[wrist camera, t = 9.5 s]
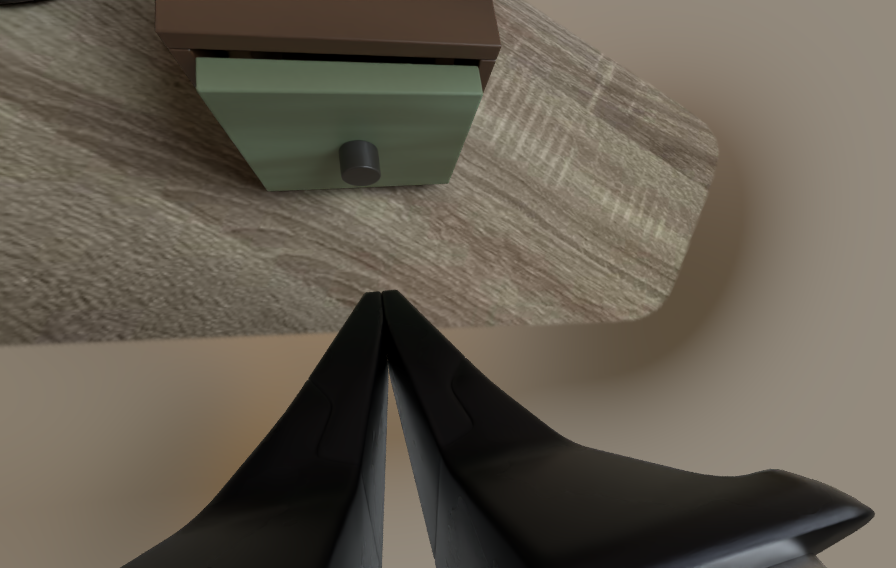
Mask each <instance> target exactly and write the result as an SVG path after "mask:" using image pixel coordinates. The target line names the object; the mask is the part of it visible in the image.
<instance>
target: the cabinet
mask: <svg viewBox="0 0 896 568" xmlns="http://www.w3.org/2000/svg"><path fill="white" fill-rule="evenodd" d="M155 31H156V33H157V34H158V35H159V37H160V38H161V40H162V41H163V43H164V44H165V45H166V47H168V49H169V51H170V53H171V54H172V55H173V57H174V58H175V60H176V61H177V62H178V64H179V65H180V67H181V68H182V70H183V71H184V72H185V74H186V75H187V77H188V78H189V79H190V81H191V82H192V84H193V85H194V86H195V88H196V61H195V59H196V58H197V57H211V58H229V56H228V54H227V52H226V50H234V51H262V52H290V53H317V54H345V55H372V56H400V57H428V58H455V60H454V64H453V65H462V66H477V67H478V69H479V74H480V80H481V85H482V91H483V92H484V90H485V87H486V85H487V82H488V80H489V77H490V74H491V72H492V69H493V67H494V64H495V61H496V59H497V56H498V54H499V51H500V49H501V42H500V36H499V31H498V26H497V21H496V16H495V11H494V6H493V1H492V0H155Z"/></svg>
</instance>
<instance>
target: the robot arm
mask: <svg viewBox="0 0 896 568" xmlns="http://www.w3.org/2000/svg"><path fill="white" fill-rule="evenodd" d="M381 295H382V296H381ZM387 359H388V360H387ZM388 368H389V374H390V379H391V383H392V387H393V392H394V396H395V399H396V404H397V408H398V412H399V416H400V420H401V424H402V429H403V433H404V436H405V441H406V445H407V449H408V453H409V457H410V462H411V466H412V470H413V474H414V478H415V482H416V486H417V490H418V494H419V498H420V503H421V507H422V511H423V515H424V519H425V523H426V527H427V532H428V535H429V540H430V544H431V548H432V552H433V556H434V559H435V565H436V568H826V567H825V565H824V564H823V563H822V562H821V561H820V560H819V559H818V558H817V557H816V555H817V554H818V553H820V552H822V551H823V550H825V549H827V548H828V547H830V546H832V545H833V544H835V543H837V542H838V541H840V540H842V539H844V538H845V537H847V536H848V535H850V534H852V533H854V532H855V531H857V530H858V529H860V528H861V527H863V526H864V525H865V524H867V523H868V522H869V521H870V520H871V519H872V518H873V517H874V515H875V513H874V511H873V510H872V509H871V508H869V507H868V506H866V505H864V504H862V503H861V502H860V501H858V500H857V499H855V498H854V497H852V496H850V495H848V494H846V493H844V492H842V491H840V490H838V489H836V488H834V487H832V486H829V485H827V484H824V483H822V482H819V481H817V480H813V479H809V478H806V477H803V476H800V475H797V474H794V473H791V472H787V471H784V470H779V469H769V470H763V471H759V472H755V473H752V474H748V475H742V476H735V477H734V476H713V475H704V474H699V473H693V472H689V471H684V470H680V469H676V468H672V467H668V466H663V465H659V464H655V463H651V462H647V461H643V460H638V459H634V458H630V457H626V456H622V455H618V454H614V453H609V452H605V451H601V450H597V449H593V448H589V447H585V446H582V445H579V444H577V443H574V442H572V441H571V440H569V439H567V438H565V437H563V436H562V435H560V434H558V433H557V432H556V431H554V430H553V429H551V428H550V427H549V426H547V425H546V424H545V423H544V422H542V421H541V420H540V419H538V418H537V417H536V416H535V415H533V414H532V413H531V412H529V411H528V410H527V409H526V408H524V407H523V406H522V405H520V404H519V403H518V402H516V401H515V400H514V399H512V398H511V397H510V396H509V395H507V394H506V393H505V392H504V391H503V390H501V389H500V388H499V387H498V386H496V385H495V384H494V383H493V382H491V381H490V380H489V379H488V378H487V377H486V376H485V375H484V374H483V373H481V372H480V371H479V370H478V369H477V368H476V367H475V366H474V365H473V364H472V363H471V362H470V361H469V360H468V359H467V358H465V356H464V355H463V354H462V353H461V352H460V351H459V350H458V349H456V347H455V346H454V345H453V344H452V343H451V342H450V341H448V340H447V339H446V338H445V337H444V336H443V335H442V334H441V333H440V332H439V331H438V330H437V329H436V328H435V327H434V326H433V325H432V324H431V323H430V322H429V321H428V320H427V319H426V318H425V317H424V316H423V315H422V314H421V313H420V312H419V311H418V310H417V309H416V308H415V307H414V306H413V305H412V304H411V303H410V302H409V301H408V300H407V299H406V298H405V297H404V296H403V295H402V294H401V293H400V292H399V291H398V290H387V291H383V292H382V293H381V292H379V291H377V292H366V293H365V294H364V295H363V296H362V298H361V299H360V301H359V302H358V304H357V305H356V307H355V308H354V310H353V312H352V313H351V315H350V316H349V318H348V319H347V321H346V322H345V324H344V325H343V327H342V328H341V330H340V331H339V333H338V334H337V336H336V337H335V339H334V340H333V342H332V343H331V345H330V346H329V348H328V349H327V351H326V352H325V354H324V355H323V357H322V359H321V360H320V362H319V363H318V365H317V366H316V368H315V369H314V371H313V372H312V374H311V375H310V377H309V380H307V381H306V382H305V384H304V386H303V387H302V389H301V390H300V392H299V393H298V395H297V396H296V397H295V399H294V400H293V402H292V403H291V405H290V406H289V407H288V409H287V410H286V412H285V413H284V414H283V416H282V417H281V418H280V419H279V420H278V422H277V423H276V424H275V426H274V427H273V428H272V429H271V431H270V432H269V433H268V434H267V436H266V437H265V438H264V439H263V441H261V443H260V444H259V445H258V446H257V448H256V449H255V450H254V451H253V452H252V454H251V455H250V456H249V457H248V458H247V459H246V461H245V462H244V463H243V464H242V465H241V467H240V468H239V469H238V470H237V471H236V473H235V474H234V475H233V476H232V477H231V479H230V480H229V481H228V482H227V483H226V485H225V486H224V487H223V488H222V489H221V491H220V492H219V493H218V494H217V495H216V496H215V498H214V499H213V500H212V501H211V502H210V503H209V504H208V505H207V506H206V507H205V508H204V509H203V510H202V511H201V512H200V513H199V514H198V515H197V516H196V517H195V518H194V519H193V520H192V521H190V522H189V523H188V524H187V525H186V526H184V527H183V528H182V529H180V530H179V531H178V532H176V533H175V534H174V535H172V536H170V537H169V538H167V539H166V540H164V541H163V542H161V543H159V544H158V545H156V546H155V547H153V548H151V549H150V550H148V551H146V552H145V553H143V554H142V555H140V556H138V557H137V558H135V559H134V560H132V561H130V562H129V563H127V564H126V565H124V566H122V567H121V568H382V545H383V544H382V543H383V516H384V490H385V461H386V459H385V458H386V434H387V405H388Z"/></svg>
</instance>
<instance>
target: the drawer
mask: <svg viewBox="0 0 896 568" xmlns="http://www.w3.org/2000/svg"><path fill="white" fill-rule="evenodd" d="M226 52H227V54H228V56H229V58H211V57H197V58H196V59H195V61H196V91H197V92H198V94H199V95H200V97H201V98H202V99H203V101H204V102H205V104H206V105H207V106H208V108H209V109H210V111H211V112H212V114H213V115H214V116H215V118H216V119H217V121H218V122H219V123H220V125H221V126H222V128H223V129H224V130H225V132H226V133H227V135H228V136H229V137H230V139H231V140H232V142H233V143H234V144H235V146H236V147H237V149H238V150H239V152H240V153H241V154H242V156H243V157H244V159H245V160H246V161H247V163H248V164H249V166H250V167H251V168H252V170H253V171H254V173H255V174H256V175H257V177H258V178H259V180H260V181H261V182H262V184H263V185H264V187H265V188H266V189H267V191H290V190H313V189H336V188H359V187H382V186H405V185H428V184H447V183H449V180H450V178H451V175H452V173H453V170H454V168H455V165H456V162H457V160H458V157H459V155H460V152H461V150H462V147H463V145H464V142H465V139H466V137H467V134H468V132H469V129H470V127H471V124H472V121H473V119H474V116H475V114H476V111H477V109H478V106H479V104H480V101H481V98H482V96H483V91H482V85H481V80H480V74H479V69H478V67H477V66H462V65H453V64H454V60H455V58H428V57H400V56H372V55H345V54H317V53H290V52H262V51H234V50H226Z"/></svg>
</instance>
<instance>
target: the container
mask: <svg viewBox="0 0 896 568" xmlns="http://www.w3.org/2000/svg"><path fill="white" fill-rule="evenodd" d="M25 1H32V0H0V4H5V3H17V2H25Z"/></svg>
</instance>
